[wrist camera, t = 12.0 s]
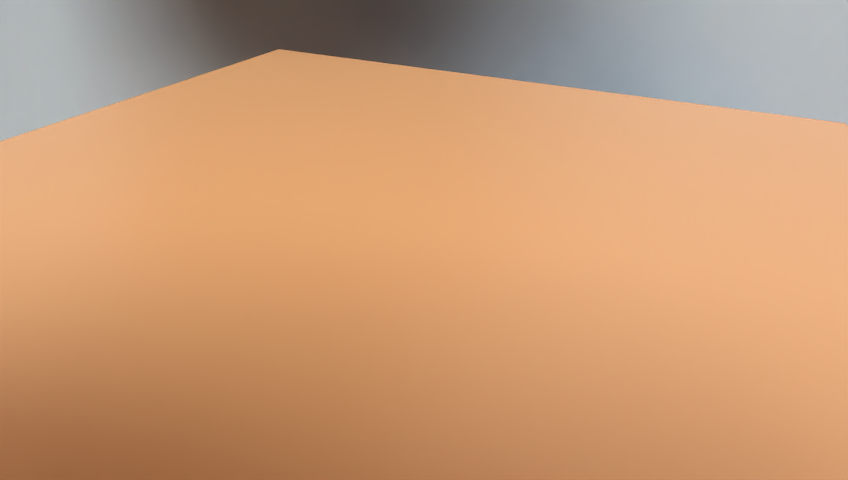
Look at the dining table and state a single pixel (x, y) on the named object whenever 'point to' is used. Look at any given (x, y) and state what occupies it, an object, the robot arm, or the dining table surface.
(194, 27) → the dining table surface
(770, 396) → the tan wooden brick
